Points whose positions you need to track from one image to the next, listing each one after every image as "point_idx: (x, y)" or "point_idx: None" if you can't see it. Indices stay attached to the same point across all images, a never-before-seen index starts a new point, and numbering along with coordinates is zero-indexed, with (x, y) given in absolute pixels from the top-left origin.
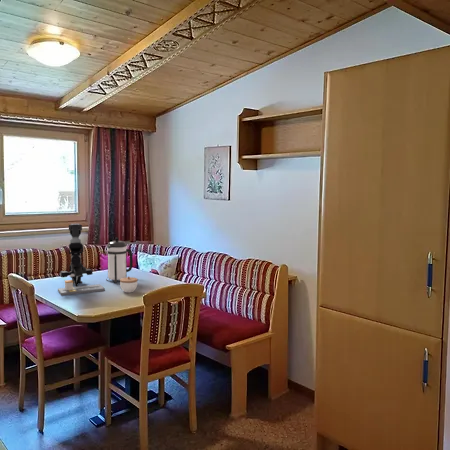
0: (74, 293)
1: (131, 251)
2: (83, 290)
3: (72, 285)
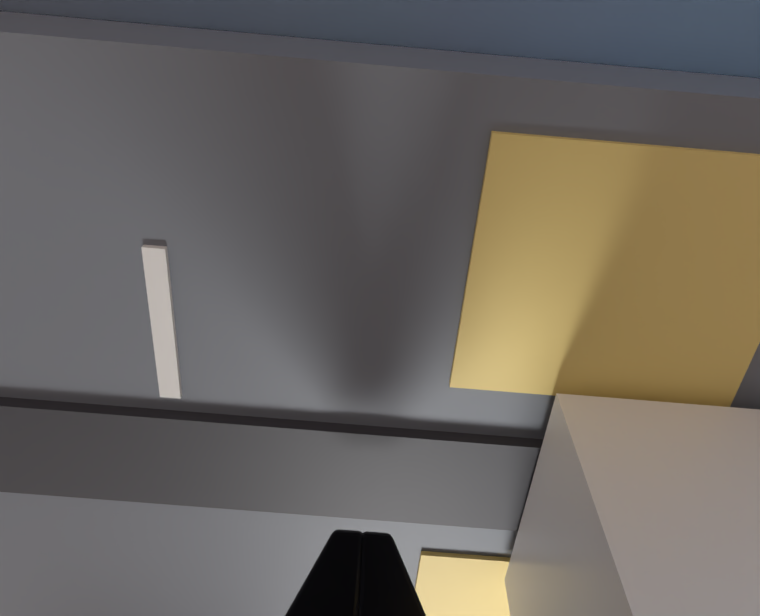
0: (603, 67)
1: None
2: (134, 87)
3: (640, 561)
